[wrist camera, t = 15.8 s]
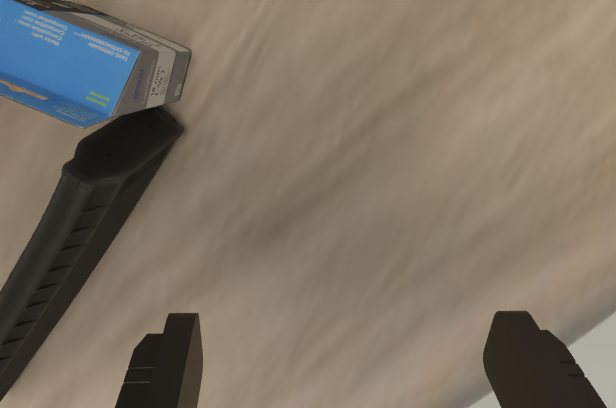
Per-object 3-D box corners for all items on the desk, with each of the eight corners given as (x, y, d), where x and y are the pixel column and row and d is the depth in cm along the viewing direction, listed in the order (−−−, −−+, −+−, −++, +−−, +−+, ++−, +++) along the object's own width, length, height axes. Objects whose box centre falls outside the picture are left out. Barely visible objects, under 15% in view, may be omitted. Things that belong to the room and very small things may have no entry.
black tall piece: (107, 78, 26) (-224, 523, 27) (158, 116, 27) (-170, 555, 27) (173, 112, 43) (-31, 385, 44) (204, 136, 44) (1, 405, 44)
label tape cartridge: (195, 49, 34) (106, 51, 22) (179, 102, 35) (87, 131, 24) (74, -1, 34) (-79, -24, 22) (63, 55, 35) (-88, 60, 24)
